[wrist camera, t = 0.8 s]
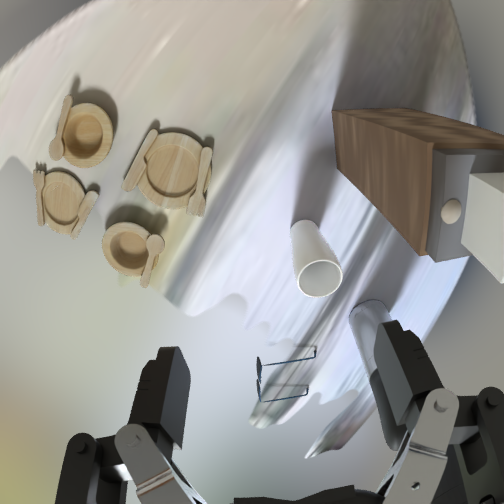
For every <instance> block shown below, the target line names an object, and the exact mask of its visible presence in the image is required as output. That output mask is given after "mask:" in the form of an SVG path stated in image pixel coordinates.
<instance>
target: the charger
mask: <svg viewBox="0 0 504 504" xmlns="http://www.w3.org/2000/svg"><path fill="white" fill-rule="evenodd" d="M461 243H462V244H463V245H464V246H465V247H466V248H467V249H468V250H469V251H470V252H471V253H472V254H473V255H474V256H475V257H476V258H477V259H478V260H479V261H480V262H481V263H482V264H483V265H484V266H485V267H486V268H487V269H488V270H489V271H490V272H491V273H492V274H493V276H494V277H495V278H496V279H497V280H498V281H499V282H500V283H501V284H502V283H504V173H475V174H470V175H469V187H468V197H467V205H466V213H465V220H464V227H463V233H462V239H461Z"/></svg>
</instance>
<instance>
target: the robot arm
mask: <svg viewBox="0 0 504 504" xmlns="http://www.w3.org/2000/svg"><path fill="white" fill-rule="evenodd" d="M349 324H350V326H351V329H352V332H353V335H354V338H355V341H356V344H357V346H358V349H359V352H360V355H361V358H362V361H363V364H364V367H365V370H366V373H367V376H368V379H369V382H370V385H371V388H372V391H373V394H374V397H375V400H376V403H377V407H378V411H379V414H380V419H381V424H382V429H383V433H384V437H385V440H386V443H387V445H388V446H389V447H390V449H392V450H394V451H398V452H397V454H396V456H395V458H394V461H393V463H392V465H391V467H390V469H389V470H388V472H387V474H386V475H385V477H384V479H383V481H382V482H381V484H380V486H379V488H378V489H377V491H376V493H374V492H371V491H367V490H359V489H354V485H349V486H344V487H340V488H334V489H328V490H324V491H321V492H319V493H316V494H314V495H311V496H308V497H305V498H303V499H300V500H296V501H289V500H281V499H274V498H267V497H251V498H234V503H231V504H504V394H503V392H502V391H501V390H499V389H498V388H495V387H487V388H484V389H483V390H482V391H481V392H480V393H479V395H478V396H456V395H455V394H454V393H453V392H452V391H450V390H448V389H445V388H444V387H443V385H442V383H441V381H440V379H439V377H438V374H437V372H436V370H435V368H434V366H433V364H432V362H431V360H430V358H429V357H428V355H427V353H426V351H425V349H424V347H423V345H422V343H421V341H420V339H419V337H417V336H416V335H415V334H414V333H413V332H412V331H411V330H407V331H403V329H402V327H401V325H400V323H399V321H398V320H393V321H392V319H391V317H390V315H389V313H388V311H387V309H386V307H385V305H384V304H383V303H382V302H380V301H377V300H370V301H366V302H363V303H361V304H359V305H358V306H357V307H355V308H354V309H353V311H352V312H351V314H350V316H349ZM190 379H191V378H190V371H189V368H188V366H187V364H186V361H185V359H184V357H183V355H182V352H181V350H180V348H179V347H178V346H177V347H160V348H159V351H158V354H157V358H156V360H149V361H148V363H147V364H146V365H145V367H144V368H143V370H142V373H141V376H140V382H139V383H138V388H137V391H136V394H135V398H134V402H133V406H132V410H131V414H130V418H129V421H128V423H127V425H125V426H123V427H122V428H121V429H120V430H119V431H118V432H117V433H116V435H113V436H109V437H103V438H97V439H94V438H93V437H92V436H91V435H89V434H87V433H79V434H76V435H74V436H73V437H72V438H71V439H70V441H69V442H68V445H67V449H66V453H65V457H64V461H63V465H62V470H61V475H60V480H59V484H58V489H57V495H56V500H55V504H125V502H126V493H127V484H128V480H132V479H133V481H134V483H135V485H136V487H137V490H136V494H137V496H138V498H139V500H140V502H141V504H207V502H206V501H205V500H204V499H203V498H202V497H201V496H200V495H199V494H198V493H197V491H196V490H195V489H194V488H193V486H192V485H191V484H190V482H189V481H188V480H187V479H186V477H185V476H184V474H183V473H182V472H181V470H180V469H179V467H178V466H177V464H176V463H175V462H174V460H173V459H172V451H173V449H177V450H181V449H182V441H183V434H184V426H185V418H186V411H187V404H188V397H189V390H190V382H191V380H190Z"/></svg>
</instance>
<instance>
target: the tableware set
mask: <svg viewBox="0 0 504 504" xmlns="http://www.w3.org/2000/svg"><path fill="white" fill-rule="evenodd" d="M72 103H73V96H72V95H67V96H66V97H65V99H64V102H63V106H62V111H61V116H60V120H59V125H58V130H57V135H56V137H55V138H54V140H52V142H51V143H50V146H49V154H50V157H51V158H52V159H53V160H55V161H57V160H59V159H61V158H62V156H64V158H65V159H66V160H67V161H68V162H69V163H71V164H72V165H74V166H77V167H80V168H89V167H92V166H95V165H97V164H99V163H100V162H101V161H103V159H104V158H105V157H106V156H107V155H108V153H109V151H110V149H111V146H112V143H113V136H114V135H113V126H112V122H111V119H110V117H109V116H108V114H107V113H106V112H105V110H103V109H102V108H101V107H99V106H98V105H95V104H92V103H81V104H77V105H75V106H73V107H72ZM212 154H213V150H212V148H211V147H208V146H207V147H204V148H203V147H202V145H201V144H200V143H199V142H198V141H196V140H195V139H194V138H192V137H190V136H188V135H186V134H182V133H178V132H168V133H162V134H159V135H158V130H156V129H152V130H150V132H149V133H148V135H147V137H146V138H145V140H144V142H143V144H142V146H141V148H140V150H139V152H138V154H137V156H136V158H135V160H134V162H133V164H132V166H131V168H130V170H129V172H128V174H127V176H126V178H125V180H124V182H123V184H122V186H121V188H122V189H123V190H125V191H131V190H133V189H134V188H135V186H136V185H138V188H139V189H140V191H141V192H142V194H143V195H144V196H145V197H146V198H147V199H148V200H149V201H151V202H152V203H154V204H155V205H157V206H160V207H163V208H167V209H180V208H184V207H187V206H188V207H187V213H186V214H189V215H191V213H193V215H194V216H196V215H197V214H198V216H199V217H203V215H204V210H205V204H206V199H205V197H204V195H203V194H204V193H205V191H206V190H207V188H208V185H209V183H210V178H211V164H210V162H211V158H212ZM33 177H34V178H33V179H34V186H35V187H36V189H37V192H36V203H37V218H38V225H39V226H43V225H44V224H45V223H46V224H47V225H48V226H49V227H50V228H51V229H52V230H54V231H56V232H58V233H62V234H71V238H72V239H74V240H75V239H76V238H77V236H78V234H79V233H80V230H81V228H82V226H83V225H84V223H85V221H86V219H87V217H88V215H89V213H90V211H91V209H92V207H93V206H94V204H95V202H96V200H97V198H98V197H99V193H98V192H97V191H95V190H91V191H89V192H87V194H85V191H84V189H83V187H82V186H81V184H80V183H79V182H78V181H77V180H76V179H75V178H74V177H73V176H71V175H70V174H68V173H66V172H62V171H55V172H51V173H49V174H47V175H46V176H45V172H44V171H41V173H40V170H38V171H37V170H34V171H33ZM57 186H58V187H57ZM55 187H56V188H55ZM54 188H55V189H54ZM164 246H165V242H164V239H163V238H162V236H160V235H158V234H152V235H151V234H150V233H149V232H148V231H147V230H146V229H145V228H144V227H142V226H140V225H138V224H136V223H132V222H119V223H116V224H113V225H112V226H110V227H109V228H108V229H107V230H106V232H105V234H104V236H103V239H102V249H103V253H104V256H105V257H106V259H107V261H108V262H109V264H110V265H111V266H112V267H113V268H114V269H115V270H117V271H118V272H120V273H122V274H125V275H128V276H134V277H135V276H136V277H138V276H142V277H141V280H140V285H141V286H142V287H143V288H146V287H147V286H148V284H149V280H150V276H151V271H152V270H153V269H154V267H155V266H156V264H157V262H158V257H159V254H160V253H161V252H162V251H163V249H164Z"/></svg>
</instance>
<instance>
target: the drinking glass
mask: <svg viewBox="0 0 504 504" xmlns="http://www.w3.org/2000/svg"><path fill="white" fill-rule="evenodd" d="M290 239H291V248H292V261H293V269H294V274H295V278H296V282H297V285H298V288H299V289H300V291H301V292H302V293H303V294H305V295H307V296H309V297H314V298H319V297H324V296H327V295H329V294H331V293H333V292H334V291H335V290H336V289H337V288H338V287H339V286H340V284H341V282H342V278H343V272H342V269H341V266H340V264H339V261H338V259H337V257H336V255H335V253H334V251H333V250H332V248H331V247H330V245H329V244H328V243H327V241H326V240H325V238H324V237H323V235H322V234H321V232H320V231H319V229H318V227H317V225H316V224H315V223H314V222H312V221H310V220H300V221H298V222H296V223H295V224H294V225H293V226H292V227H291V229H290Z"/></svg>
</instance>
